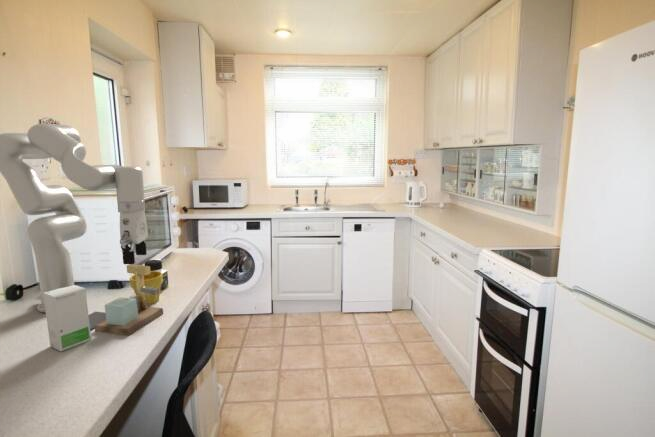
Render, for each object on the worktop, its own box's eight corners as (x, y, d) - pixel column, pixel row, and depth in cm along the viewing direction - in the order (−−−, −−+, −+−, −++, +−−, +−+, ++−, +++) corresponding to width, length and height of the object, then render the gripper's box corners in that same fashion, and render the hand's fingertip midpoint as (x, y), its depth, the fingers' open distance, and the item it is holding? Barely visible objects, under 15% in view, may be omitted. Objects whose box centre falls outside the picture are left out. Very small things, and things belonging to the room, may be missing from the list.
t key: (155, 312, 117) (151, 269, 115) (130, 307, 121) (125, 265, 119) (161, 309, 119) (157, 267, 117) (136, 304, 124) (132, 263, 121)
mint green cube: (106, 323, 111) (104, 305, 110) (122, 315, 116) (120, 297, 115) (123, 325, 109) (121, 306, 108) (138, 317, 115) (136, 298, 114)
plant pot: (151, 308, 126) (148, 281, 124) (125, 306, 128) (122, 279, 127) (170, 296, 136) (168, 271, 134) (146, 294, 138) (143, 269, 137)
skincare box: (60, 352, 99) (51, 297, 96) (48, 346, 102) (40, 292, 99) (93, 339, 106) (86, 287, 103) (81, 333, 109) (74, 283, 106)
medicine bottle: (160, 293, 139) (157, 263, 137) (142, 293, 140) (138, 263, 137) (169, 286, 146) (166, 257, 144) (151, 286, 147) (148, 257, 145)
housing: (95, 331, 110) (94, 325, 110) (132, 310, 125) (131, 304, 124) (129, 335, 108) (128, 329, 107) (163, 313, 122) (162, 308, 122)
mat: (65, 328, 112) (65, 326, 112) (95, 313, 123) (95, 311, 123) (89, 331, 110) (89, 329, 110) (118, 315, 121) (118, 314, 121)
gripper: (133, 211, 107) (137, 267, 110) (153, 202, 124) (157, 251, 127) (105, 211, 106) (110, 268, 109) (130, 202, 123) (134, 251, 126)
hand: (135, 259), depth 118 cm, fingers open, 9 cm apart
